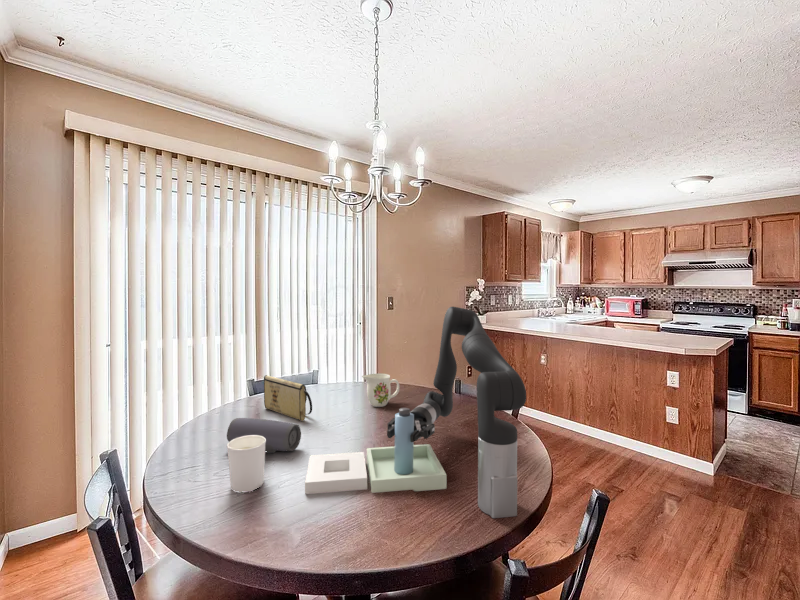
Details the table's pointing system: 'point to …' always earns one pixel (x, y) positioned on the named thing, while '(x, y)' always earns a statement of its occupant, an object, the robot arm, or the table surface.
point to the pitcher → (380, 389)
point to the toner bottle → (403, 442)
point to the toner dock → (336, 473)
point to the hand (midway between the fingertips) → (400, 436)
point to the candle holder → (246, 462)
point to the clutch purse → (286, 397)
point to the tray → (422, 478)
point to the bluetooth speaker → (267, 432)
